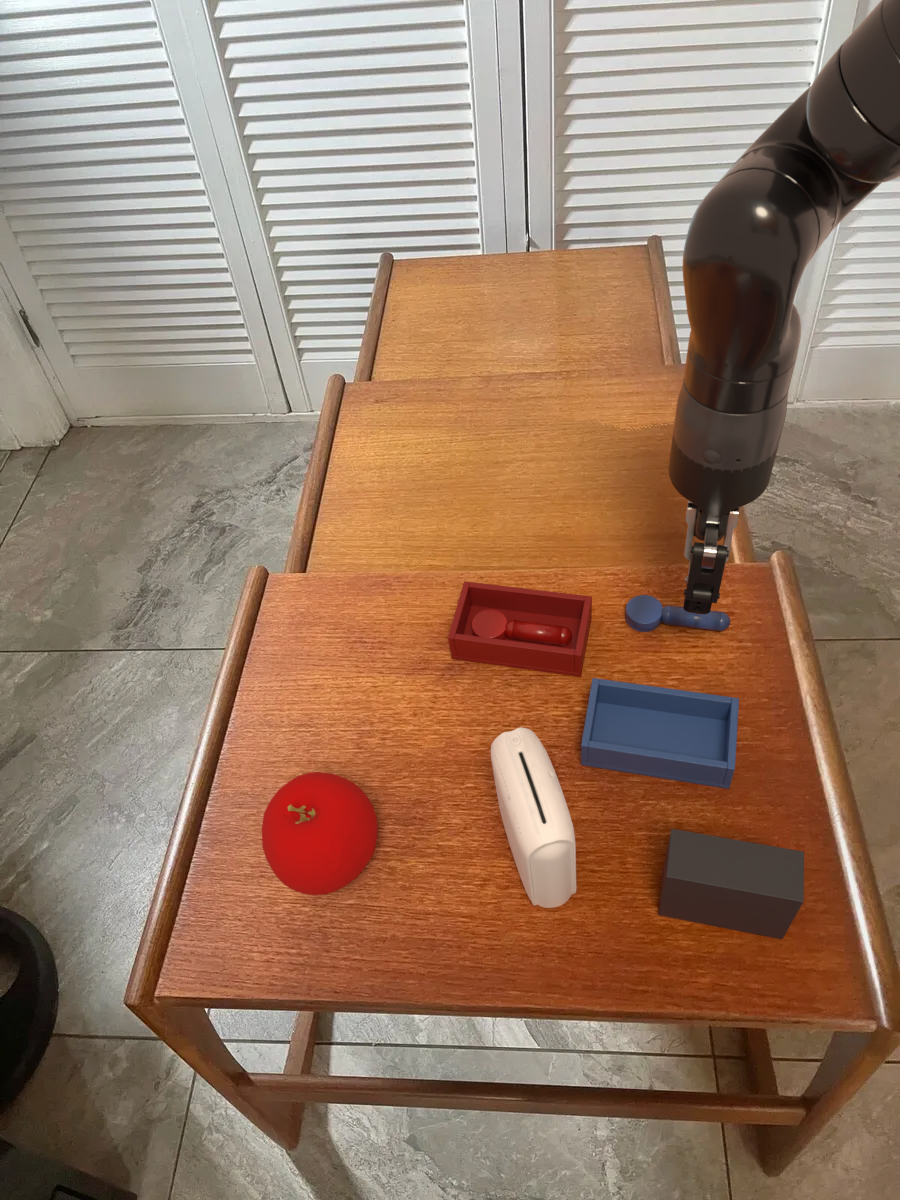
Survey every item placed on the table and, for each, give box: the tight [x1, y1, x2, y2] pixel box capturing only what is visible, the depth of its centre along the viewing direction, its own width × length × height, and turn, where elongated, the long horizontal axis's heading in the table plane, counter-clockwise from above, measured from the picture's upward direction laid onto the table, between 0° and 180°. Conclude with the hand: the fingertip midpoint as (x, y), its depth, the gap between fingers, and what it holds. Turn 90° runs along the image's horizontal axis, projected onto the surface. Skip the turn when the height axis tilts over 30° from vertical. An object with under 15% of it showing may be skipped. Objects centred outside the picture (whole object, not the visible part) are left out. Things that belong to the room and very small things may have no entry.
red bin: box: [447, 580, 593, 678], centre depth 84 cm, size 12×7×4 cm, turn 76°
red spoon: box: [471, 609, 572, 646], centre depth 85 cm, size 10×3×2 cm, turn 76°
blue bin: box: [580, 677, 740, 790], centre depth 76 cm, size 12×7×4 cm, turn 76°
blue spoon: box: [625, 594, 731, 633], centre depth 84 cm, size 10×3×2 cm, turn 76°
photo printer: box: [490, 726, 578, 909], centre depth 68 cm, size 10×4×12 cm, turn 14°
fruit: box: [261, 771, 379, 896], centre depth 71 cm, size 9×9×10 cm
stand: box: [657, 828, 805, 940], centre depth 66 cm, size 9×4×8 cm, turn 76°
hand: (700, 570), depth 78 cm, fingers open, 8 cm apart
